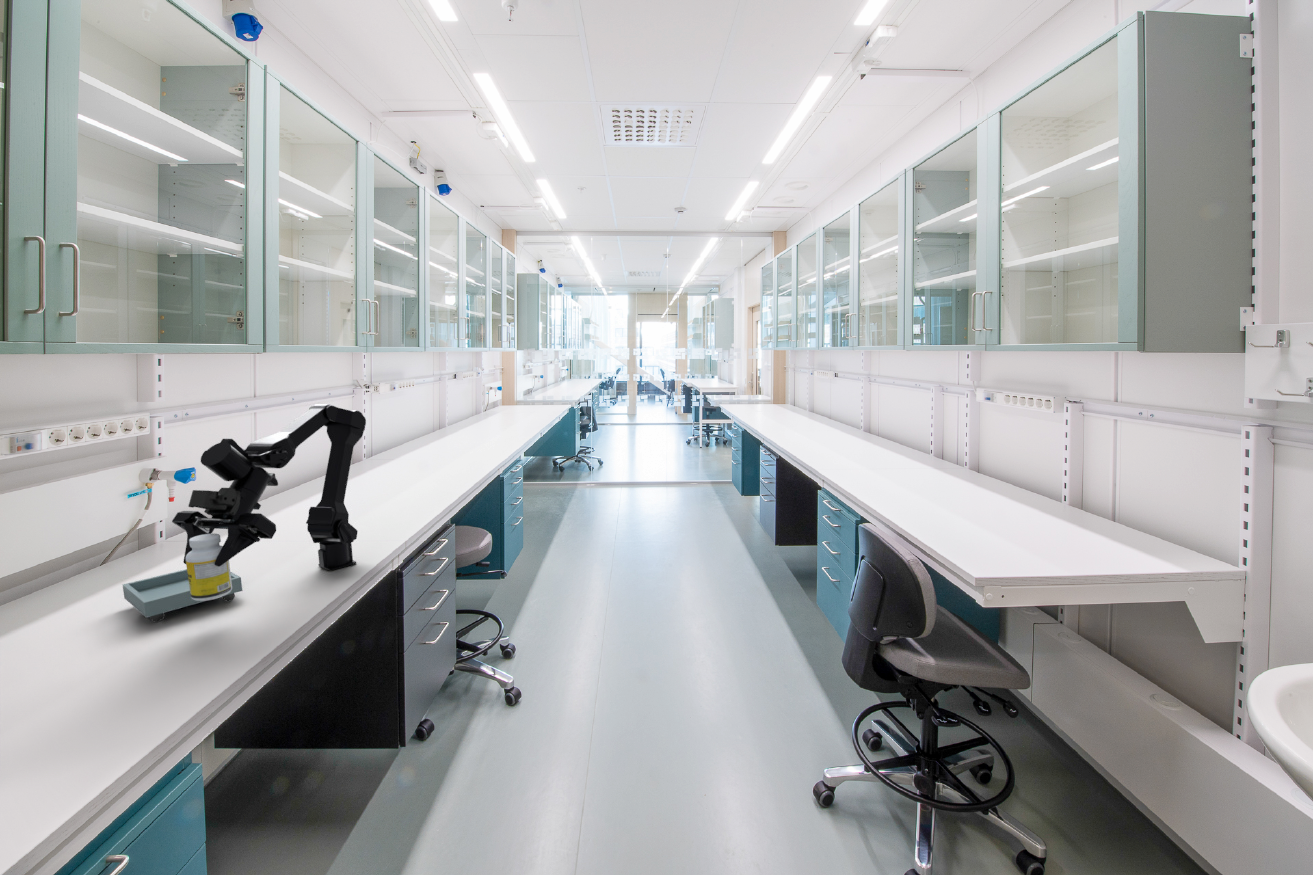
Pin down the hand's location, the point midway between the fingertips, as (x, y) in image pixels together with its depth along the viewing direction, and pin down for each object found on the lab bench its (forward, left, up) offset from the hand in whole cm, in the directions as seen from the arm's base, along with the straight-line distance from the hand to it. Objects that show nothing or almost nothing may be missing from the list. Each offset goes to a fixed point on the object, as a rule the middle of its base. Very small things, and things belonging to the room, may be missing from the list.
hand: (201, 564), depth 111 cm
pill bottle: (-1, -1, -7) cm, 7 cm away
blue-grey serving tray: (-1, -19, -13) cm, 23 cm away
